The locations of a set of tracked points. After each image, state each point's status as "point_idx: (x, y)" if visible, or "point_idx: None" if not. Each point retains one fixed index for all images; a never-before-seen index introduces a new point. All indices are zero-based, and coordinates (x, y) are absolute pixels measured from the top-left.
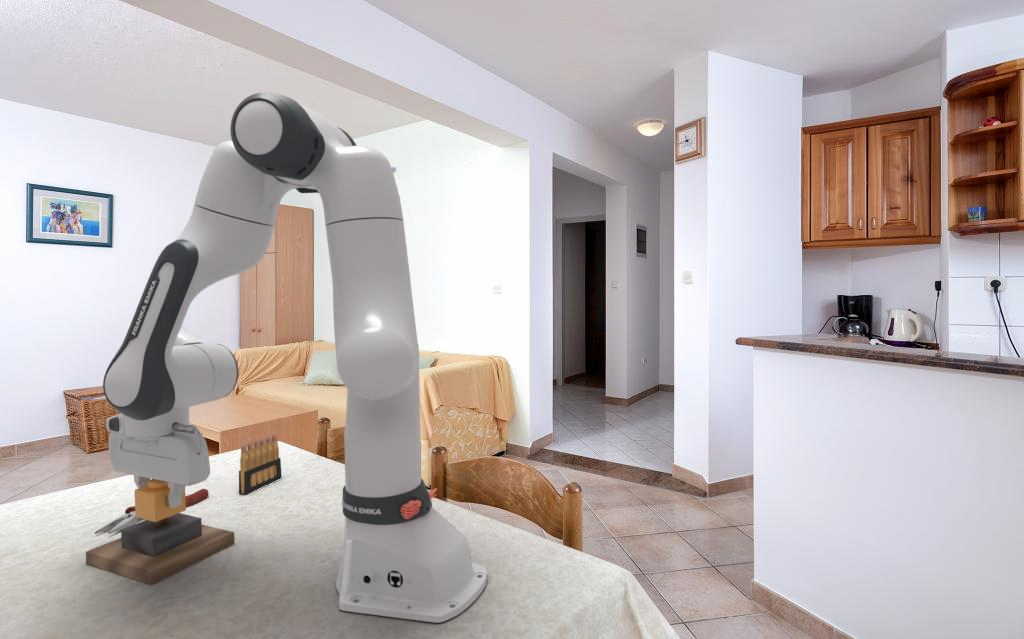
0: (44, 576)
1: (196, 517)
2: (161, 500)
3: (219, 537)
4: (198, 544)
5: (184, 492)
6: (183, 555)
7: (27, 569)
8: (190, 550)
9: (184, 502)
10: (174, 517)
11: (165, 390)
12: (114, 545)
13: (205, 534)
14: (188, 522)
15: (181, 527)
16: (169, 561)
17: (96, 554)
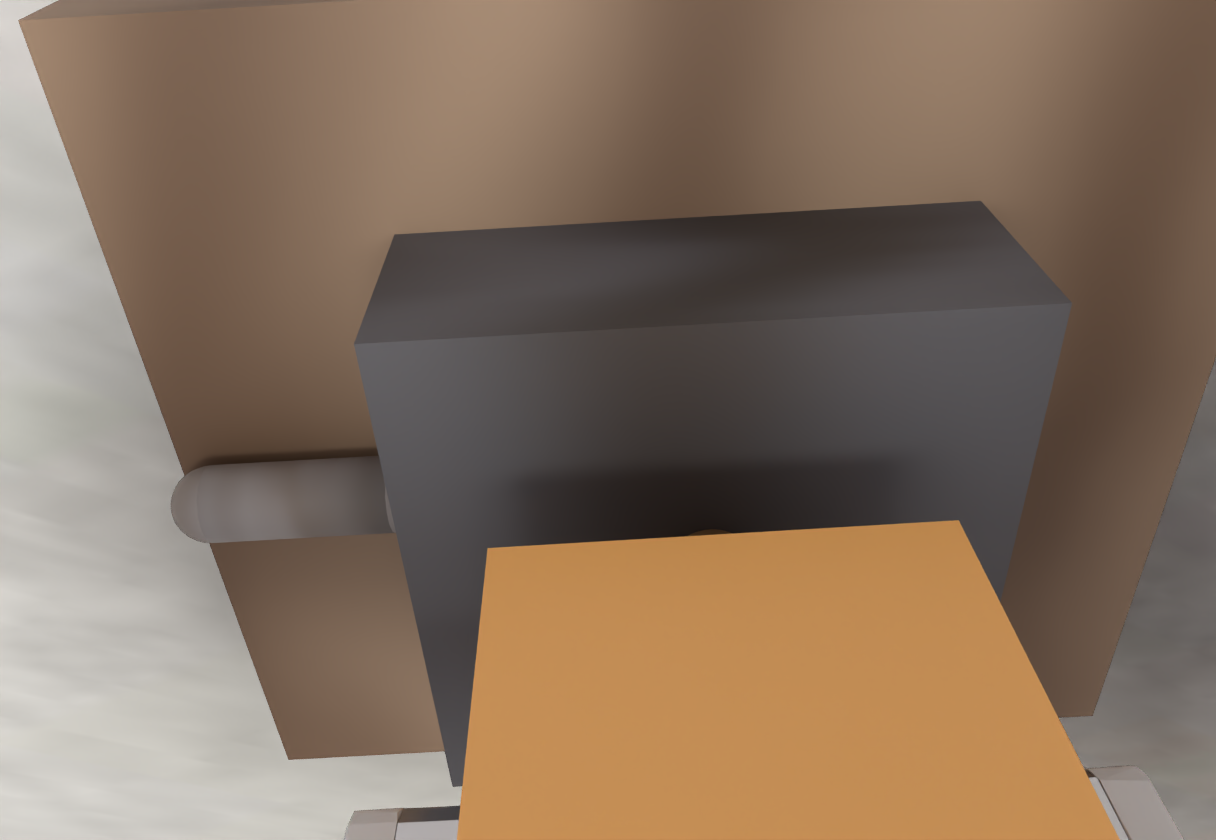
0: (281, 814)
1: (976, 317)
2: None
3: None
4: (1128, 348)
5: (1075, 774)
6: (1152, 516)
7: (70, 821)
8: (1144, 446)
9: (1001, 627)
10: (661, 438)
11: None
12: (357, 646)
13: (1001, 163)
14: (1007, 450)
15: (1013, 531)
16: (1110, 604)
17: (420, 749)
